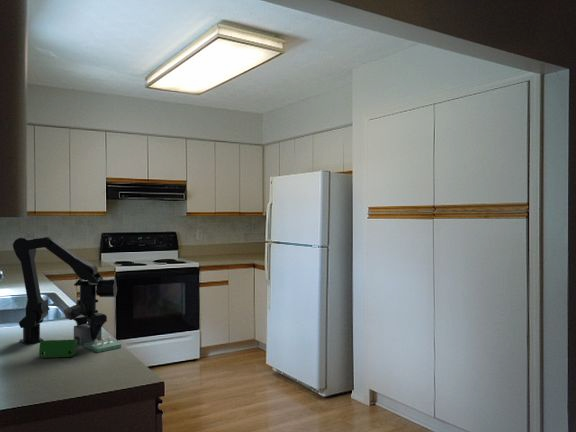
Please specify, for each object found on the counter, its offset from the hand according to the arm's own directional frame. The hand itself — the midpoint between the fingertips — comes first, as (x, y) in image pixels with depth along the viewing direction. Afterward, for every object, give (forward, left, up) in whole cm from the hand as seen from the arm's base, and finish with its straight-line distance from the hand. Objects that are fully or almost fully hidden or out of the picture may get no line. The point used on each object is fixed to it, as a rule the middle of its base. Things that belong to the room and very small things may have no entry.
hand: (87, 337), depth 190 cm
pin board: (+12, 0, -1) cm, 12 cm away
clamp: (+10, -15, -2) cm, 18 cm away
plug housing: (0, 0, -1) cm, 1 cm away
